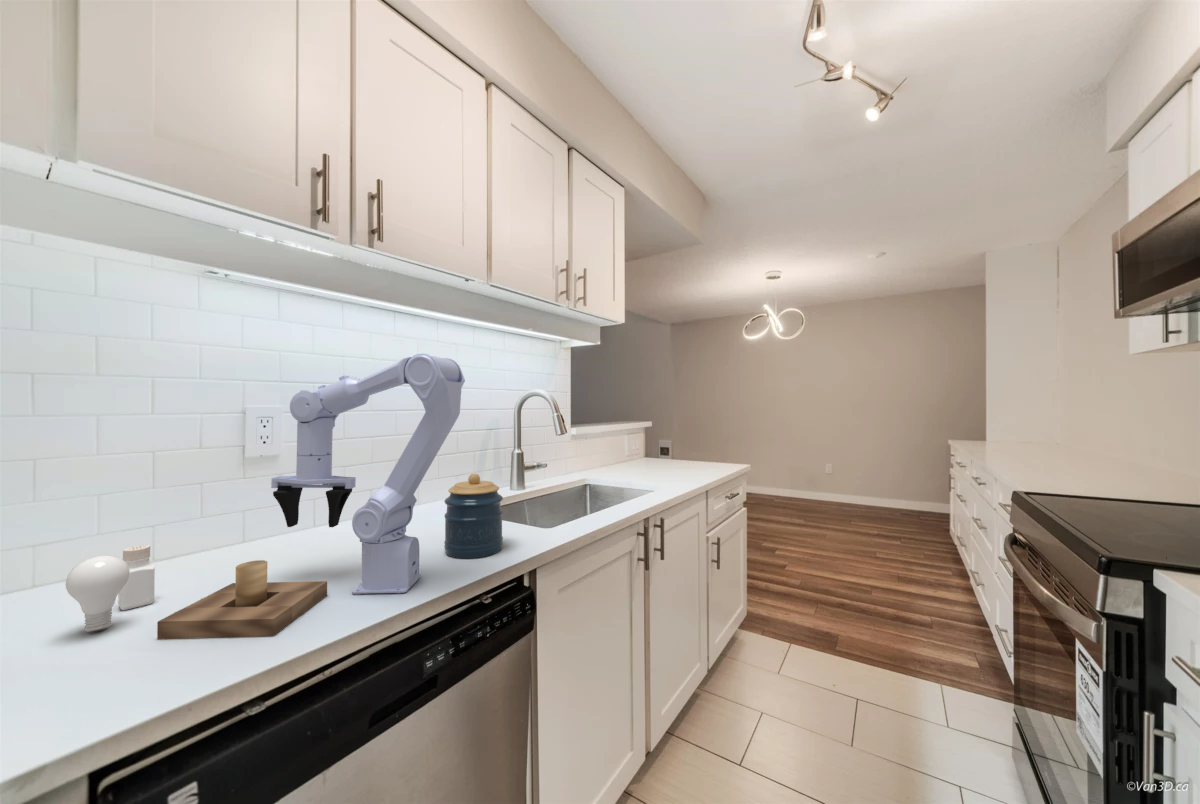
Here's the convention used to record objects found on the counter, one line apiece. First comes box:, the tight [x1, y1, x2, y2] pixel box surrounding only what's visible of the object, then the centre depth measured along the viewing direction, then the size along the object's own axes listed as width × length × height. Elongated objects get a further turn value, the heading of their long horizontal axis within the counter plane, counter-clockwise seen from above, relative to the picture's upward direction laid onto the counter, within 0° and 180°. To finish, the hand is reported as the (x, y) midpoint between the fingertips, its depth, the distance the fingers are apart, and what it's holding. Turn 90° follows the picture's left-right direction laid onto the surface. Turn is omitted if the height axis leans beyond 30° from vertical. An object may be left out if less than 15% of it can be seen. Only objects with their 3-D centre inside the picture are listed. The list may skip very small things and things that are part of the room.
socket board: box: [156, 580, 328, 640], centre depth 72 cm, size 16×14×2 cm
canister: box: [443, 472, 504, 559], centre depth 104 cm, size 13×13×18 cm
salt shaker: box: [117, 544, 156, 611], centre depth 76 cm, size 4×4×10 cm
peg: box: [235, 559, 268, 607], centre depth 72 cm, size 4×4×8 cm
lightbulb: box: [65, 554, 130, 633], centre depth 67 cm, size 6×6×11 cm
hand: (313, 525), depth 86 cm, fingers open, 7 cm apart
